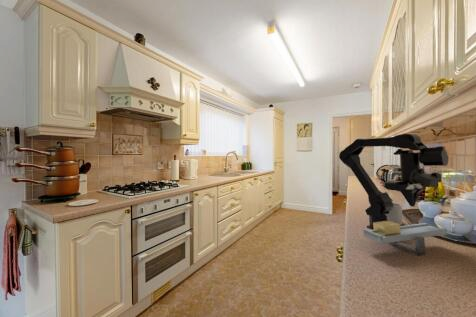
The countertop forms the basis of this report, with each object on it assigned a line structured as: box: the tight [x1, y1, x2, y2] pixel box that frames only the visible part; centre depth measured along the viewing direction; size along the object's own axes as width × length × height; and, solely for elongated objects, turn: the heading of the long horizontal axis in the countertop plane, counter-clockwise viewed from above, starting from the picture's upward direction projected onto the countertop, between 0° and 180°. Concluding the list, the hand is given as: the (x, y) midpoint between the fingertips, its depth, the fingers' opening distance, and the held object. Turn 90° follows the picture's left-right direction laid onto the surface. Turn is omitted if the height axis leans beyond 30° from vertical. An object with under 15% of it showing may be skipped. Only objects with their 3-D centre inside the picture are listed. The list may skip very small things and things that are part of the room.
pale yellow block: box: [373, 221, 401, 237], centre depth 69 cm, size 4×6×4 cm
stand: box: [389, 236, 426, 257], centre depth 70 cm, size 11×2×6 cm, turn 10°
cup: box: [386, 202, 403, 226], centre depth 97 cm, size 7×10×9 cm
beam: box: [363, 222, 448, 245], centre depth 70 cm, size 8×26×3 cm, turn 100°
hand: (412, 206), depth 79 cm, fingers closed
